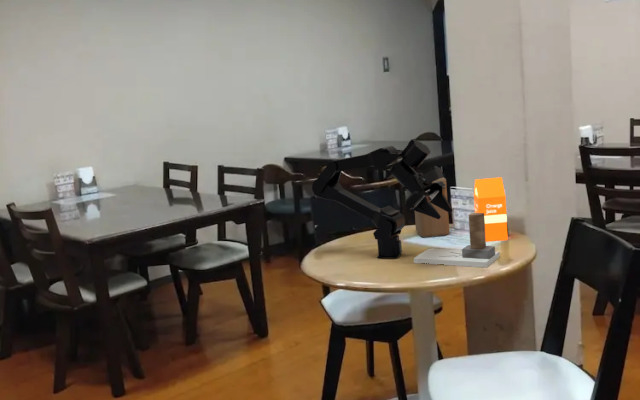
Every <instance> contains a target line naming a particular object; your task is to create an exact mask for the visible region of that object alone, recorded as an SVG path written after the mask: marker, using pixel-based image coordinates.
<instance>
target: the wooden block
mask: <svg viewBox="0 0 640 400" xmlns="http://www.w3.org/2000/svg"><path fill="white" fill-rule="evenodd" d="M437 181H442V182H443V183H444V184H445V185H446V186H445V197H446V199H447V200H448V191H447V190H448V188H447V179H446V177H442V178H440V179H438V180H436V181H433V182H432V183H434V182H437ZM429 201H430V200H429ZM431 204H432V203H431ZM432 205H433V207H434V208H435V209H436V210H437V212H438V213H439V214H440V216H441V218H440V219H436V218H433V217H431V216H428V215H426V214H423V213H420V212H417V211H414V220H415V221H414V222H415V223H414V224H415V231H416V233H417V234H418V235H419V236H420V237H421V238H431V237H432V236H433V237H441V236H447V235H449V234H450V218H449V212H447V211H445V210H443V209H441V208H439V207H438V206H436V205H434V204H432ZM414 208H415V206H414Z"/></svg>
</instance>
